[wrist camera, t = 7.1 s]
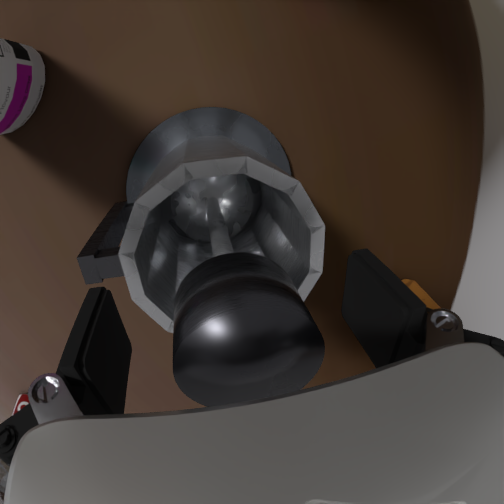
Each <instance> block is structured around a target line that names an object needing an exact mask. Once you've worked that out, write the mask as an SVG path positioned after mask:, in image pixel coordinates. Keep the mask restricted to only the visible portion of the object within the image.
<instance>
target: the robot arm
mask: <svg viewBox="0 0 504 504" xmlns="http://www.w3.org/2000/svg"><path fill="white" fill-rule="evenodd" d="M425 309H426V305H425V304H424V302H423V301H422V300H421V299H420V298H419V297H418V296H417V295H416V294H415V293H414V292H412V291H411V290H410V289H409V288H408V287H407V286H406V285H405V284H404V283H403V282H402V281H401V280H400V279H399V278H398V277H397V276H396V275H395V274H394V273H393V272H392V271H391V270H390V269H389V268H388V267H387V266H385V265H384V264H383V263H382V262H381V261H380V260H379V259H378V258H377V257H376V256H375V255H374V254H372V253H371V252H370V251H369V250H368V249H361V250H355V251H353V252H352V254H351V255H349V257H348V263H347V272H346V280H345V288H344V295H343V303H342V316H343V318H344V319H345V321H346V322H347V324H348V325H349V327H350V328H351V330H352V331H353V333H354V334H355V336H356V337H357V339H358V341H359V342H360V344H361V345H362V347H363V348H364V350H365V351H366V353H367V354H368V356H369V357H370V359H371V361H372V362H373V364H374V365H375V367H376V369H373V370H370V371H367V372H364V373H361V374H358V375H355V376H351V377H348V378H344V379H341V380H337V381H334V382H330V383H326V384H323V385H319V386H315V387H311V388H307V389H303V390H299V391H294V392H290V393H286V394H281V395H276V396H271V397H266V398H261V399H256V400H250V401H245V402H239V403H232V404H226V405H219V406H212V407H204V408H196V409H187V410H177V411H165V412H150V413H134V414H124V407H125V398H126V389H127V381H128V374H129V366H130V360H131V353H132V347H131V343H130V340H129V338H128V335H127V333H126V330H125V328H124V325H123V323H122V320H121V318H120V315H119V313H118V310H117V307H116V305H115V302H114V299H113V296H112V293H111V291H110V290H106V288H105V287H96V288H90V289H89V291H88V293H87V295H86V297H85V300H84V302H83V304H82V306H81V309H80V311H79V314H78V316H77V318H76V321H75V323H74V326H73V328H72V330H71V333H70V336H69V338H68V341H67V343H66V346H65V349H64V351H63V354H62V357H61V360H60V363H59V365H58V368H57V371H56V374H54V373H47V374H43V375H41V376H39V377H38V378H36V379H35V380H34V381H33V383H32V384H31V385H30V388H29V390H28V398H29V402H30V403H29V404H27V405H26V406H25V407H23V408H22V409H21V410H19V411H18V412H16V413H15V414H14V415H12V416H11V417H10V418H8V419H7V420H6V421H4V422H3V423H1V424H0V504H504V341H503V340H501V339H499V338H496V337H492V336H489V335H485V334H480V333H477V332H473V331H469V330H466V329H463V324H462V320H461V319H460V318H459V316H458V315H457V314H455V313H453V312H452V311H450V310H447V309H442V308H438V309H433V310H431V311H430V312H429V313H428V312H427V311H426V310H425Z"/></svg>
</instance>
